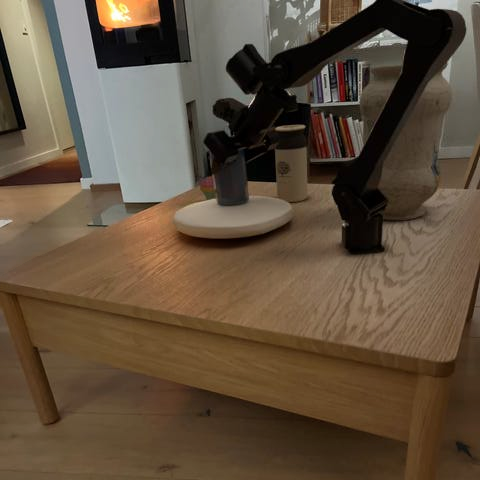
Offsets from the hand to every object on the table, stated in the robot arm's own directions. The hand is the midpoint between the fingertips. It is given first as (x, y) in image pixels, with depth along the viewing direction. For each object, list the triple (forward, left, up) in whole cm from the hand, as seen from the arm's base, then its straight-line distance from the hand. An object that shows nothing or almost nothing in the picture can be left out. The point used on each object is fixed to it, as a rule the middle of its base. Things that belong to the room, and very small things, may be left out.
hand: (224, 169), depth 102 cm
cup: (-1, +1, -7) cm, 7 cm away
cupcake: (+2, -25, -13) cm, 28 cm away
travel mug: (-18, -20, -13) cm, 30 cm away
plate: (-1, +1, -13) cm, 13 cm away
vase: (-38, +2, -13) cm, 40 cm away
